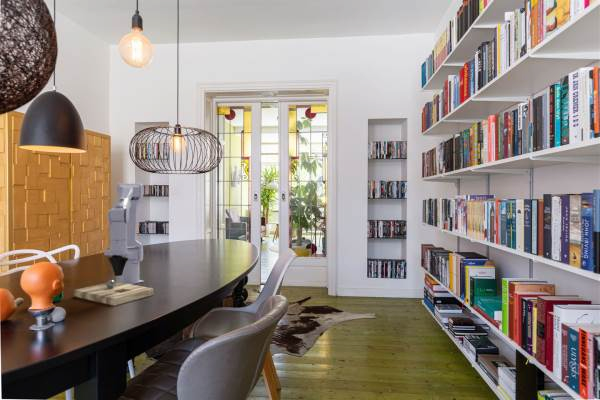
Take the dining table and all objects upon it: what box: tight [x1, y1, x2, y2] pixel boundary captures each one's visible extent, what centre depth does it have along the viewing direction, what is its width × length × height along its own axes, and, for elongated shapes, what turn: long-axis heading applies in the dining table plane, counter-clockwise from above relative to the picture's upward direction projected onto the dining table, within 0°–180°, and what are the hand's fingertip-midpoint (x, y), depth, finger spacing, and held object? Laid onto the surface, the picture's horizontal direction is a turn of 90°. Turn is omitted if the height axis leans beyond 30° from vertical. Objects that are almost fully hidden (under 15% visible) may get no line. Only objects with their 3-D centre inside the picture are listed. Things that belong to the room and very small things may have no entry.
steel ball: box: [106, 279, 116, 288], centre depth 137 cm, size 3×3×3 cm
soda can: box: [53, 266, 64, 303], centre depth 128 cm, size 5×5×12 cm
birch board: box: [74, 281, 154, 306], centre depth 135 cm, size 24×16×2 cm, turn 61°
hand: (118, 275), depth 134 cm, fingers closed
